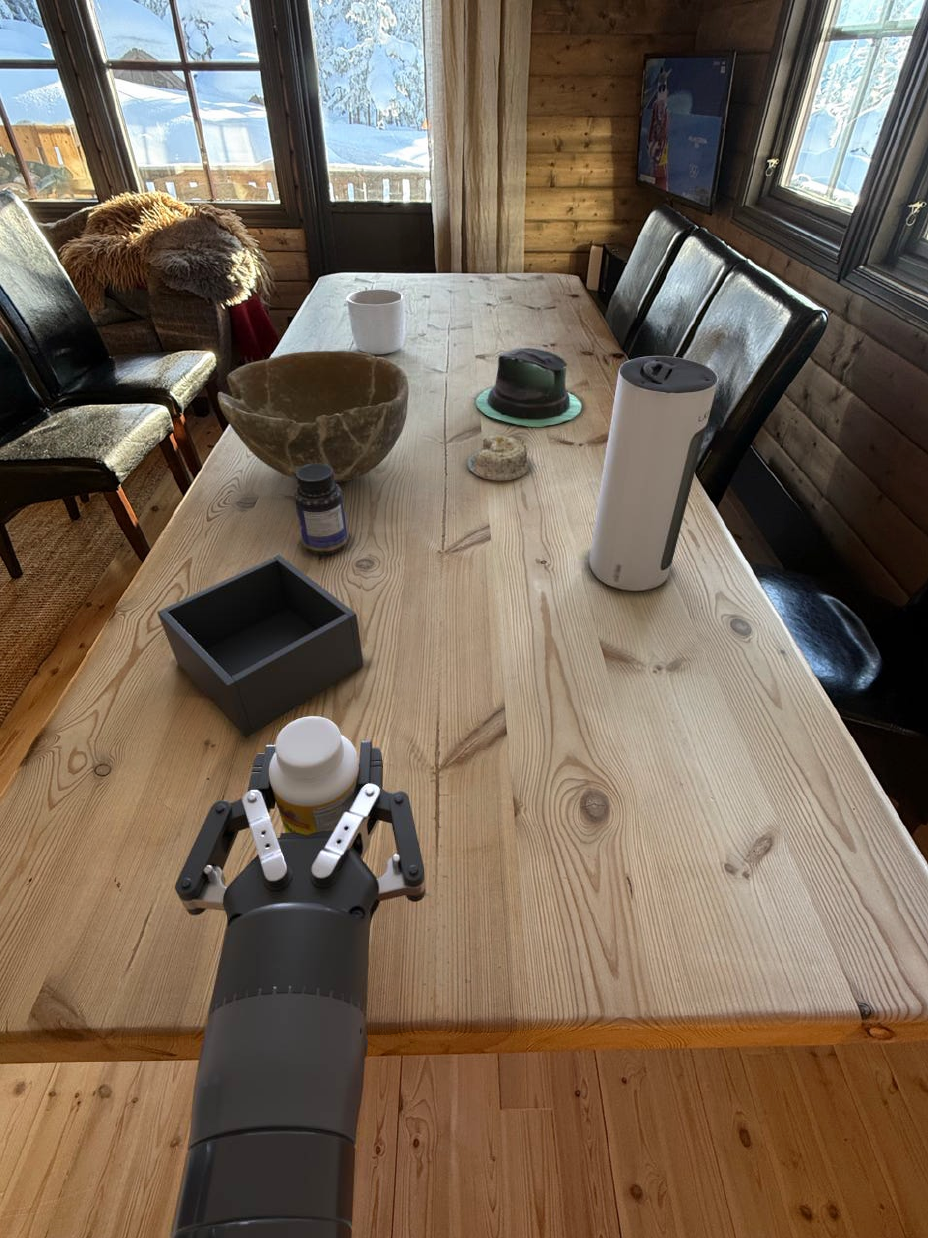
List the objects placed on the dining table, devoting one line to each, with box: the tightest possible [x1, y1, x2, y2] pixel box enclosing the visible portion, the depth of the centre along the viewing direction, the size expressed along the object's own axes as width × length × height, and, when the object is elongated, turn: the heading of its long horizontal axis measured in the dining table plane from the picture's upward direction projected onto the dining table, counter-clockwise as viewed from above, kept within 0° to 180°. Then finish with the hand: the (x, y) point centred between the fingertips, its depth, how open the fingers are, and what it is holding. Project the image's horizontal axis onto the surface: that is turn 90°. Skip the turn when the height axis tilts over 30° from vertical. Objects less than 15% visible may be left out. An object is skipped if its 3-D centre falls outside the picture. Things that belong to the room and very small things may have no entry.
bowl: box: [217, 350, 410, 484], centre depth 100 cm, size 28×27×15 cm
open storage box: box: [156, 554, 365, 739], centre depth 70 cm, size 15×15×8 cm
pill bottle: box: [293, 463, 349, 556], centre depth 86 cm, size 6×6×11 cm
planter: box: [346, 288, 406, 355], centre depth 145 cm, size 12×12×11 cm
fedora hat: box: [475, 347, 582, 428], centre depth 124 cm, size 15×19×20 cm
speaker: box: [588, 355, 719, 592], centre depth 77 cm, size 11×10×26 cm
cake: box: [467, 434, 530, 482], centre depth 105 cm, size 10×10×5 cm
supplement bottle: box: [269, 715, 359, 835], centre depth 43 cm, size 6×6×10 cm
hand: (320, 750), depth 44 cm, fingers closed on supplement bottle, 5 cm apart
